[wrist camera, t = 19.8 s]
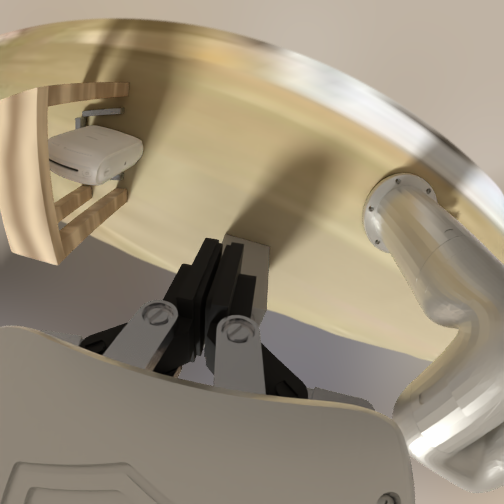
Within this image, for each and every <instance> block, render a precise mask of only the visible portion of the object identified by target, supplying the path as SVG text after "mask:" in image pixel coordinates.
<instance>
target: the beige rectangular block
mask: <svg viewBox="0 0 504 504" xmlns="http://www.w3.org/2000/svg"><path fill="white" fill-rule="evenodd" d="M232 242H235V243H241V244H244V251H243V259H242V266H241V274H246V275H252V276H257V278H256V285H255V292H254V299H253V306H252V312H251V319H252V320H253V321H254V322H255V323H256V324H257V325H258V327H259V326H260V324H261V322H262V319H263V317H264V315H265V312H266V310H267V292H268V273H269V252H270V247H269V246H266V245H262V244H259V243H255V242H252V241H248V240H245V239H241V238H238V237H234V236H230V235H227V234H225V236H224V239H223V242H222V244H223V250H222V255H223V252H224V249H225V247H226V245H231V243H232ZM204 347H205V344H204ZM205 358H206V357H205Z"/></svg>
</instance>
